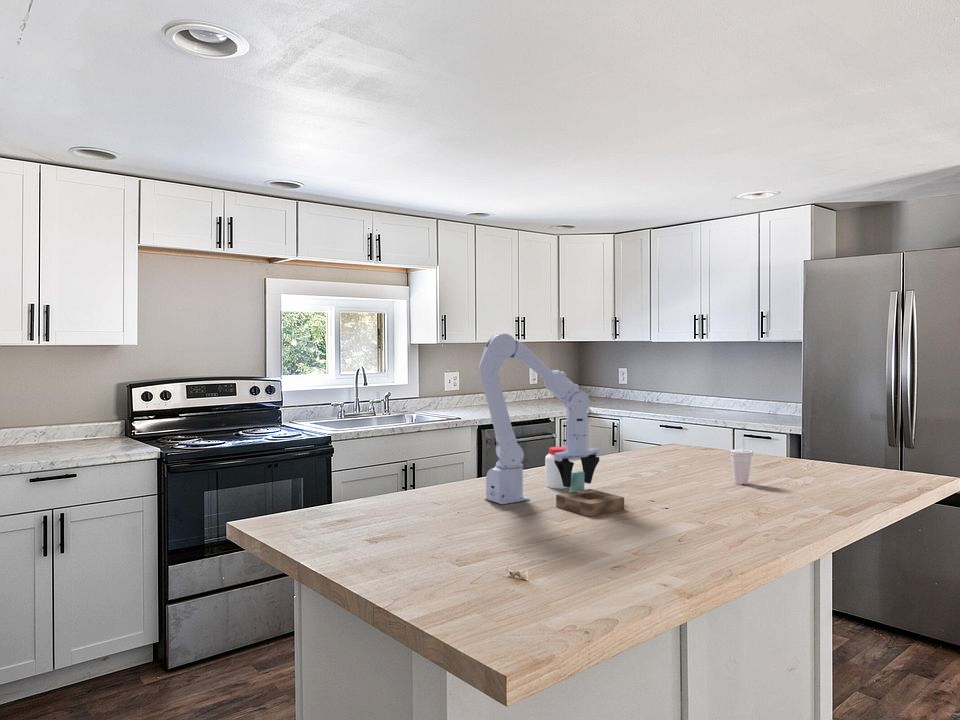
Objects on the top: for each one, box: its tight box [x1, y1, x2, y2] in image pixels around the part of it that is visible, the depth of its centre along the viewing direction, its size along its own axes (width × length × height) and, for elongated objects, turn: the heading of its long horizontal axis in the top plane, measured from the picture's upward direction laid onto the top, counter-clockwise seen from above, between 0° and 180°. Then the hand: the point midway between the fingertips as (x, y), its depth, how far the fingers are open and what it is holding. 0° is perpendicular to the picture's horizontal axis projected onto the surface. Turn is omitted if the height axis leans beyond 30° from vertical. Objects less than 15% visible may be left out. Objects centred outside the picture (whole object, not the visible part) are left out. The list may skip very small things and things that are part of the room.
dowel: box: [568, 469, 585, 493], centre depth 180 cm, size 4×4×7 cm
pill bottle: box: [544, 446, 573, 490], centre depth 195 cm, size 8×8×11 cm
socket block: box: [555, 488, 625, 517], centre depth 169 cm, size 12×12×3 cm
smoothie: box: [729, 435, 754, 486], centre depth 198 cm, size 6×6×14 cm
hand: (577, 484), depth 180 cm, fingers open, 7 cm apart
